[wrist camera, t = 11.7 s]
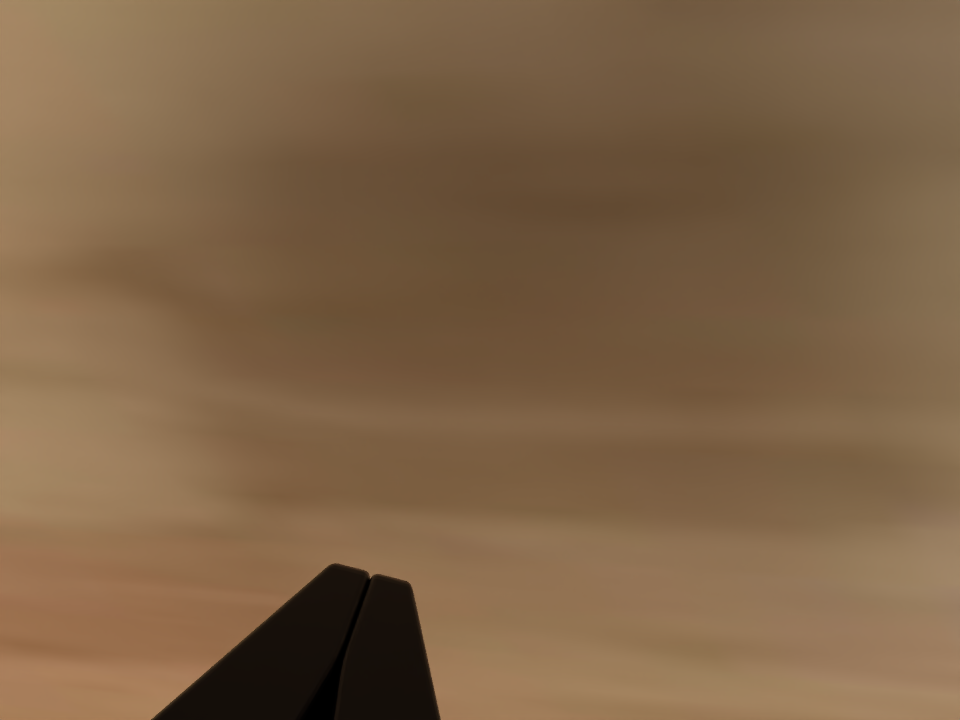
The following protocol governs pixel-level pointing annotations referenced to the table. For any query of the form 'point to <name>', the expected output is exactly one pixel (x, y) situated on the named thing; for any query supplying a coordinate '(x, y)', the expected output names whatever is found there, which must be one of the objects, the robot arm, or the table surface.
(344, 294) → the table surface
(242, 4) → the table surface
